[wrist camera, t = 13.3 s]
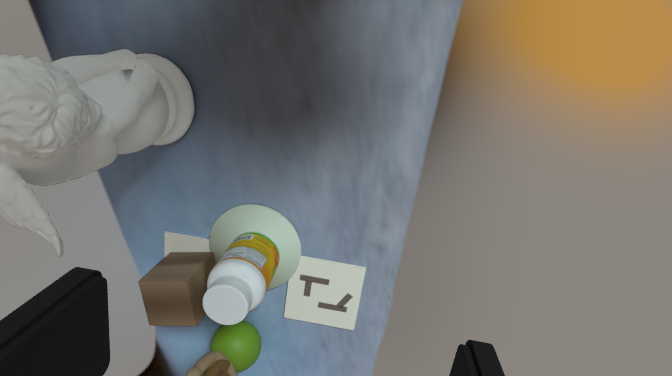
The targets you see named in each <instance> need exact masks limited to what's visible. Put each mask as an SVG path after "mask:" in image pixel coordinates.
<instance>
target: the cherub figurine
mask: <svg viewBox="0 0 672 376" xmlns="http://www.w3.org/2000/svg"><path fill="white" fill-rule="evenodd" d="M194 106H195V104H194V99H193V93H192V89H191V85H190V84H189V81H188V80H187V78H186V76H185V75H184V74H183V73H182V72H181V70H180V69H179V68H178V67H177V66H176V65H175V64H173V63H172V62H171V61H169V60H168V59H166V58H164V57H162V56H159V55H155V54H148V53H144V54H137V55H136V54H135V53H133V52H132V51H130V50H128V49H122V50H117V51H113V52H108V53H105V54H102V55H81V56H71V57H65V58H61V59H58V60H56V61H53V62H51V63H47V62H43V61H42V60H41V59H39V58H38V57H36V56H32V57H31V58H27V57H26V56H24V55H16V56H9V55H6V54H0V216H1V218H2V219H4V220H5V221H6V222H7V223H9V224H10V225H12V226H15V227H17V226H19V227H20V228H22V227H24V228H25V229H27V230H29V231H31V232H35V233H37V234H38V235H40V236H41V237H43V238H44V239H45V240H46V241H48V242H49V243H50V244H51V245H52V246H53V248H54V249H55V250H56V253H57V256H58V257H61V256H62V255H63V243H62V240H61V239H60V237H59V236H58V235H57V233H56V231H57V230H56V229H55V227H54V225H53V223H52V221H51V220H50V219H49V215H48V213H47V212H46V211H45V210H44V209H43V207H42V205H41V204H40V202H39V200H38V198H37V197H35V195H34V193H33V191H32V190H31V189H30V188H29V187H28V186H27V183H30V184H33V185H39V186H49V185H55V184H60V183H62V182H65V181H67V180H72V179H76V178H79V177H82V176H84V175H86V174H88V173H91V172H94V171H96V170H98V169H100V168H103V167H106V166H108V165H110V164H111V163H112V162H113V161H114V160H115V159H116V157H117V155H118V154H130V153H134V152H137V151H140V150H142V149H144V148H146V147H148V146H150V145H166V144H170V143H172V142H175V141H177V140H178V139H180V138H181V137H182V136H183V135H184V134H185V133H186V132H187V130H188V128H189V127H190V125H191V122H192V119H193V117H194V116H193V115H194V110H195V109H194V108H195V107H194Z"/></svg>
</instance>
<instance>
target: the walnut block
mask: <svg viewBox="0 0 672 376" xmlns="http://www.w3.org/2000/svg"><path fill="white" fill-rule="evenodd" d="M215 265H216V263H215V258H214V253H213V252H170V253H169V254H168V255H167V256H166V257H165V258H164V259H162V260H161V261H160V262H159V263H158V264H157V265H156V266H155V267H154V268H153V269H151V270H150V271H149V272H148V273H147V274H146V275H145V276H144V277H143V278H142V279H140V280H139V281H138V282H139V286H140V290H141V293H142V297H143V301H144V305H145V309H146V313H147V317H148V321H149V325H157V326H197V325H198V324H199V322H200V321H201V320H202V318H203V317H204V315H205V314H206V312H205V311H204V308H203V297H204V294H205V292H206V291H207V280H208V277H209V274H210V272H211V271H212V269H213V268H214V266H215Z"/></svg>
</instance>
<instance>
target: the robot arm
mask: <svg viewBox="0 0 672 376" xmlns="http://www.w3.org/2000/svg"><path fill="white" fill-rule="evenodd" d="M109 362H110V343H109V318H108V293H107V280H106V279H105V278H103V277H102V274H101V272H99V271H96V270H91V269H85V268H80V267H76V268H74V269H72V270H70V271H69V272H68V273H66V274H65V275H63V276H62V277H61V278H59V279H58V280H56V281H55V282H54V283H52V284H51V285H49V286H48V287H47V288H45V289H44V290H42V291H41V292H40V293H38V294H37V295H36V296H34V297H33V298H31V299H30V300H29V301H27V302H26V303H24V304H23V305H22V306H20V307H19V308H17V309H16V310H14V311H13V312H12V313H10V314H9V315H8V316H6V317H5V318H3V319H2V320H1V321H0V376H102V375H104V373H105V372H106V370H107V368H108V365H109ZM449 376H505V375H504V372H503V370H502V367H501V365H500V362H499V360H498V357H497V354H496V352H495V349H494V347H493V345H492V344H489V343H484V342H478V341H472V340H468V341H467V342H466V345H462V344H460V345H459V346H458V349H457V352H456V355H455V359H454V362H453V365H452V369H451V372H450V375H449Z"/></svg>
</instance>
